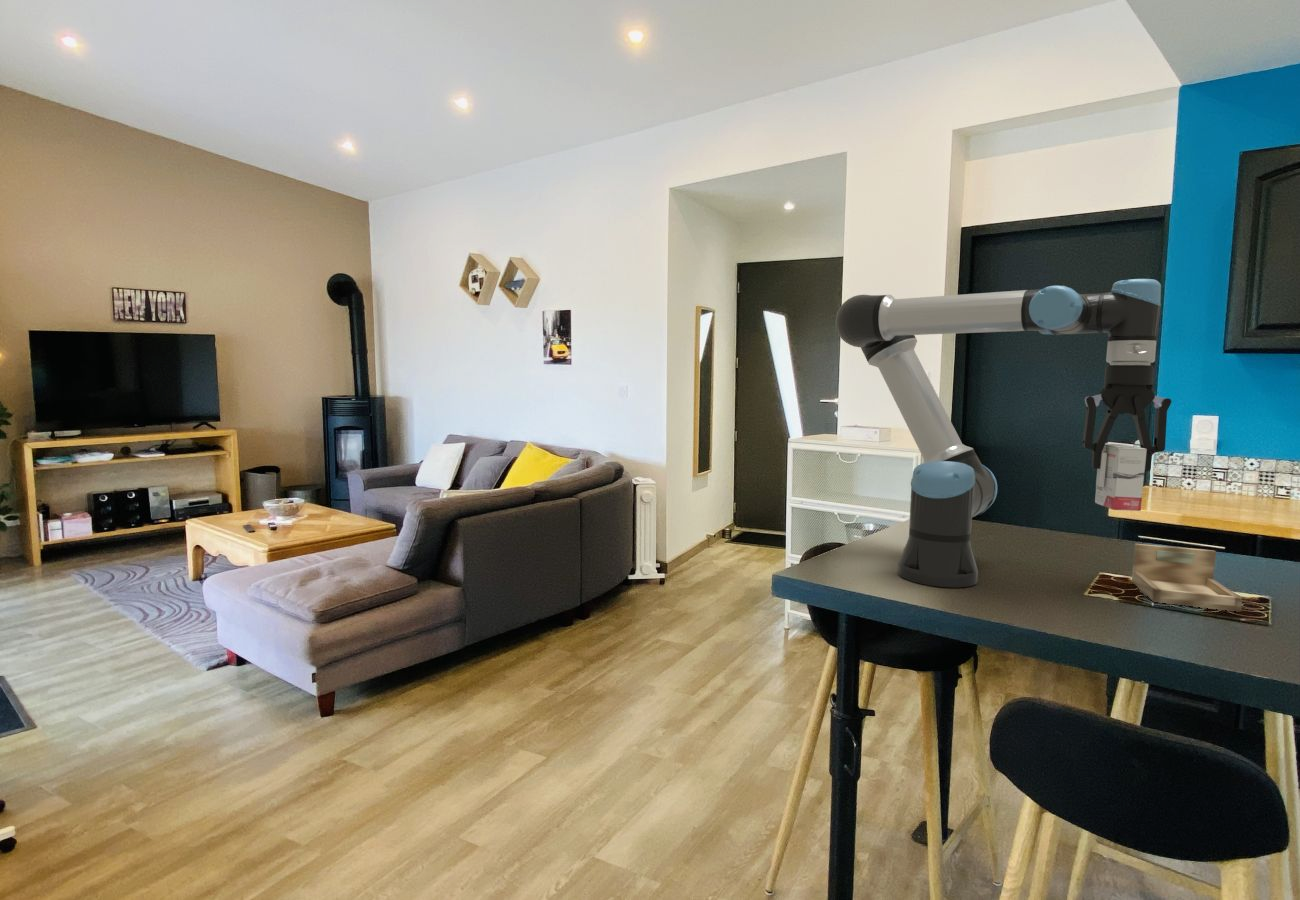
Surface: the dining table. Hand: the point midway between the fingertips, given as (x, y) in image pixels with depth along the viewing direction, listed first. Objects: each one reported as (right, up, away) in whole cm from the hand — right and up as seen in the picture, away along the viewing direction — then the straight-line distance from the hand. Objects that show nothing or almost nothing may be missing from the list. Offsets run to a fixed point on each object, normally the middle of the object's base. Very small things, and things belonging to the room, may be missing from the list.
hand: (1118, 486), depth 130 cm
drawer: (+12, -21, 0) cm, 24 cm away
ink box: (0, -4, 0) cm, 4 cm away
